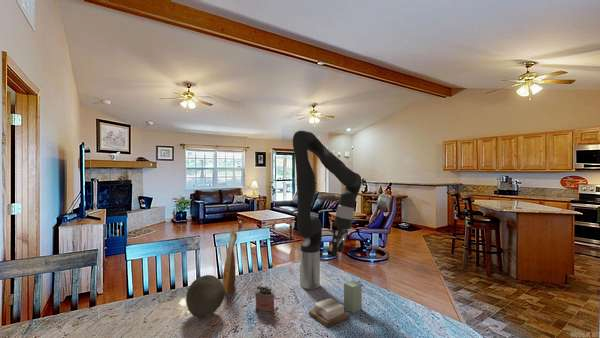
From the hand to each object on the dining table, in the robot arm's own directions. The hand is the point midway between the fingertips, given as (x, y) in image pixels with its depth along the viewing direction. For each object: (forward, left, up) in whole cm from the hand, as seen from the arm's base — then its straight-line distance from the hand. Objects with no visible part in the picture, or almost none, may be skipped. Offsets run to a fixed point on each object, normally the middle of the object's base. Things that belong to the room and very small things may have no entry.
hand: (336, 253), depth 124 cm
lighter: (-10, -30, -20) cm, 37 cm away
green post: (+9, 0, -20) cm, 22 cm away
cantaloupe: (-21, -50, -20) cm, 58 cm away
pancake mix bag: (-41, -32, -20) cm, 55 cm away
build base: (+8, -12, -20) cm, 25 cm away
